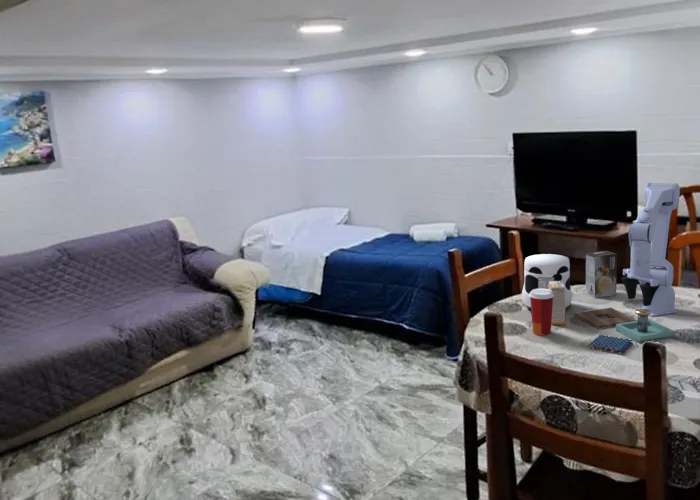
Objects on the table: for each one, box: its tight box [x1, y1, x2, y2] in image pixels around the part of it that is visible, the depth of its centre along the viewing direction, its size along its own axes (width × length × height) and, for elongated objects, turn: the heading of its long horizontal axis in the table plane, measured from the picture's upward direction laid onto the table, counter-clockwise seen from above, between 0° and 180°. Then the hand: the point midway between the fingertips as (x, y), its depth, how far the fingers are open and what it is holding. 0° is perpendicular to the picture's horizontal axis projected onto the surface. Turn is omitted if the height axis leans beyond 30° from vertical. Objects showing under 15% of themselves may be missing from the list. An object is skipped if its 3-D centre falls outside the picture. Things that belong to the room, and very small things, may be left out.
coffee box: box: [585, 250, 618, 299], centre depth 244 cm, size 9×6×16 cm
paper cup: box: [529, 289, 554, 336], centre depth 211 cm, size 8×8×14 cm
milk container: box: [521, 253, 573, 310], centre depth 234 cm, size 17×17×18 cm
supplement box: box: [549, 281, 566, 325], centre depth 221 cm, size 8×5×13 cm, turn 168°
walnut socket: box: [574, 307, 637, 330], centre depth 220 cm, size 14×14×1 cm
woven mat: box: [587, 334, 634, 355], centre depth 198 cm, size 10×11×2 cm
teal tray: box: [615, 318, 675, 344], centre depth 205 cm, size 12×12×2 cm
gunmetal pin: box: [635, 309, 651, 333], centre depth 205 cm, size 4×4×7 cm
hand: (639, 302), depth 207 cm, fingers open, 7 cm apart
